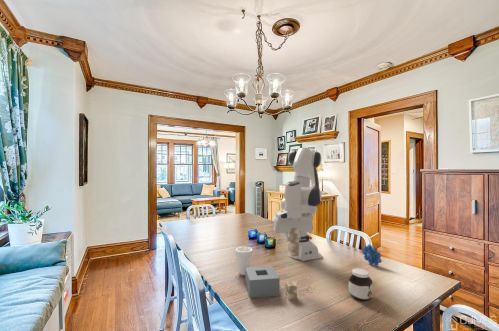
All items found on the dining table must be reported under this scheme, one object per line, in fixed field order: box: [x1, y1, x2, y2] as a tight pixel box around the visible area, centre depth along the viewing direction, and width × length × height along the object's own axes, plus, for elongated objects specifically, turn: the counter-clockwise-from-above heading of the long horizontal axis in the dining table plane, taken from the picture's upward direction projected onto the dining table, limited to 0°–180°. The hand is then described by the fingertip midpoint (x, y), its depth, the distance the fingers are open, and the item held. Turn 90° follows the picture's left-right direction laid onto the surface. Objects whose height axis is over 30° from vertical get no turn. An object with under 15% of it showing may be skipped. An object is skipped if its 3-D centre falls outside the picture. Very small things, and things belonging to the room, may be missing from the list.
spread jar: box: [348, 267, 374, 302], centre depth 111 cm, size 12×11×12 cm
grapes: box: [361, 243, 382, 267], centre depth 145 cm, size 12×7×12 cm, turn 38°
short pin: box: [285, 281, 298, 301], centre depth 108 cm, size 4×4×6 cm
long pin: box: [287, 228, 299, 256], centre depth 120 cm, size 4×4×14 cm
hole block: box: [244, 265, 281, 299], centre depth 115 cm, size 14×14×8 cm
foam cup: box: [235, 246, 253, 276], centre depth 134 cm, size 10×9×13 cm
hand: (293, 240), depth 120 cm, fingers closed on long pin, 4 cm apart
